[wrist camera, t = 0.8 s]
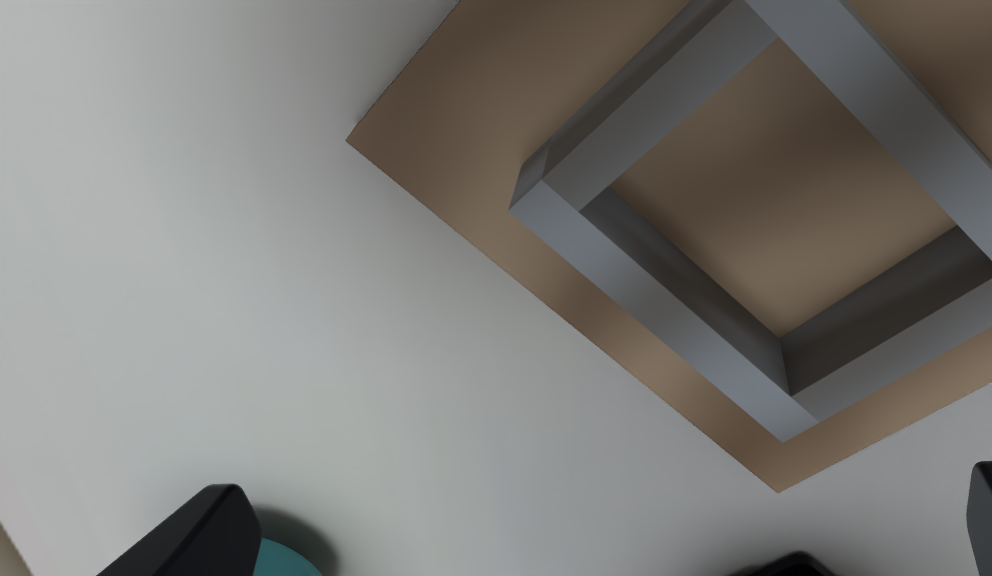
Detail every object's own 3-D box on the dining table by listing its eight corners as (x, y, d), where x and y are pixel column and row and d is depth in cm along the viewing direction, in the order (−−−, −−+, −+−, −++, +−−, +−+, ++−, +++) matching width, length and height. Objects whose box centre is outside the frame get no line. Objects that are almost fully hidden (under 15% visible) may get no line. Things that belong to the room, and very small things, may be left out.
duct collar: (1228, 225, 21) (1318, 307, 18) (774, 470, 28) (787, 556, 25) (759, -358, 16) (782, -375, 13) (356, 125, 23) (313, 183, 20)
